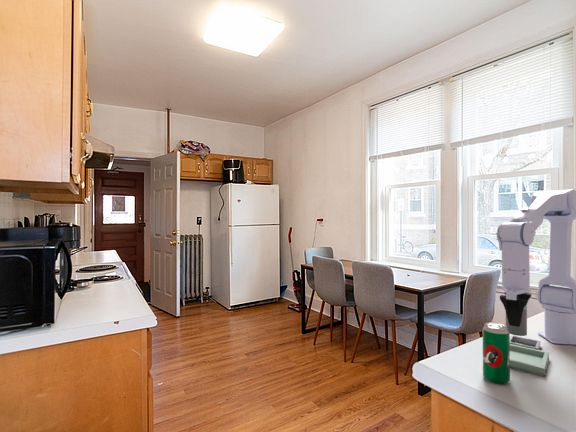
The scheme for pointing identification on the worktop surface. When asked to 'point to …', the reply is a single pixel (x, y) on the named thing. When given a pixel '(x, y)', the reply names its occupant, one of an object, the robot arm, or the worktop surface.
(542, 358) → the tray
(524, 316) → the cylinder
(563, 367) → the worktop surface
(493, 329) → the soda can
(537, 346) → the collar
